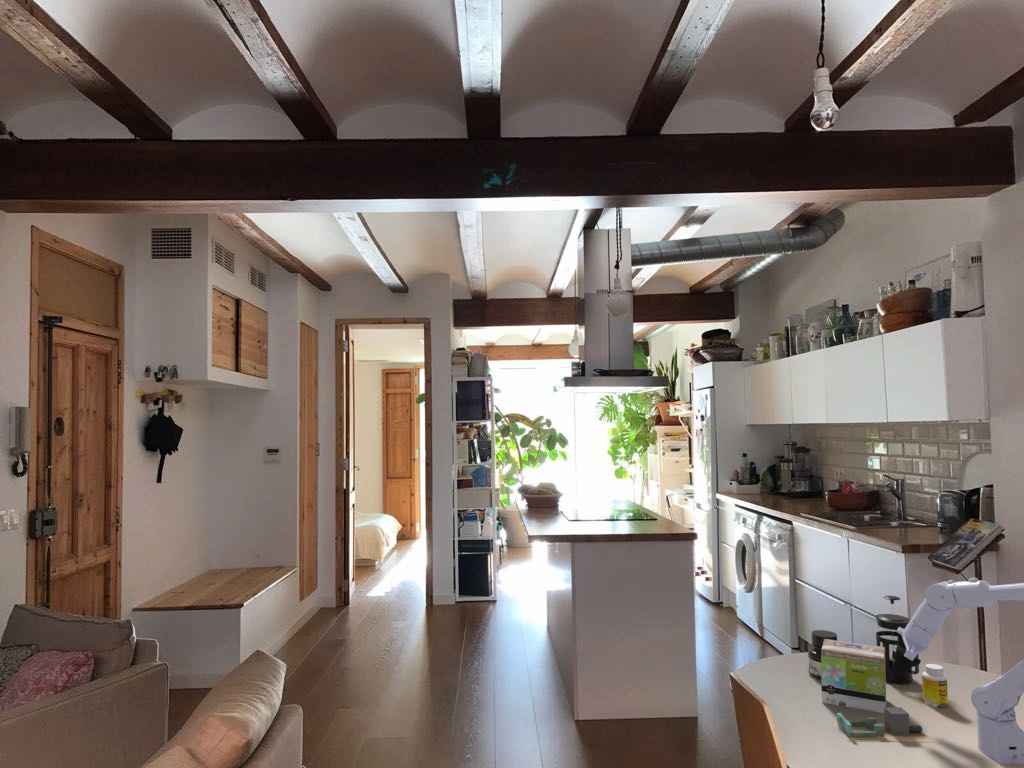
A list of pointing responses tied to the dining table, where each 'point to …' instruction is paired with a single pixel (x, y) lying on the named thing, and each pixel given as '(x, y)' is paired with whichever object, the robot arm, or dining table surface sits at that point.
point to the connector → (899, 722)
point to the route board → (873, 731)
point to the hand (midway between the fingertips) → (897, 665)
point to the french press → (893, 643)
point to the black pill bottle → (818, 651)
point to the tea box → (853, 675)
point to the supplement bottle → (934, 686)
